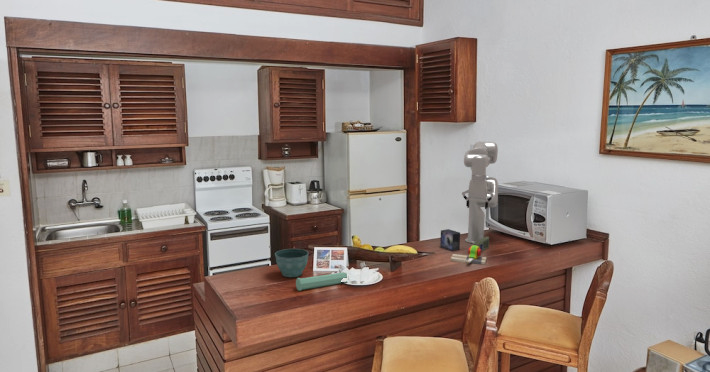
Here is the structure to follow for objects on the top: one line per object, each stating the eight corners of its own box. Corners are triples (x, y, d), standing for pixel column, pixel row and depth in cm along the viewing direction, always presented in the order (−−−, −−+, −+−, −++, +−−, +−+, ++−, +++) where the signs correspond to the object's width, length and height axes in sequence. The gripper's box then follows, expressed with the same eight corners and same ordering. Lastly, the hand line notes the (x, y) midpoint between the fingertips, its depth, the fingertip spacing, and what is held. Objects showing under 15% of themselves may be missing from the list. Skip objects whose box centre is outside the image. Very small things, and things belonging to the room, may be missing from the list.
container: (345, 268, 235) (297, 275, 222) (351, 276, 231) (302, 283, 218) (343, 277, 238) (294, 285, 225) (348, 286, 233) (299, 294, 221)
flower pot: (272, 279, 235) (272, 257, 233) (278, 269, 251) (277, 248, 249) (306, 280, 235) (306, 258, 233) (310, 269, 251) (310, 248, 249)
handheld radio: (489, 247, 297) (474, 257, 277) (484, 247, 299) (468, 256, 279) (489, 236, 297) (474, 245, 276) (484, 236, 299) (468, 244, 278)
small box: (439, 247, 297) (440, 230, 295) (447, 245, 300) (448, 228, 299) (452, 251, 288) (452, 233, 286) (460, 249, 291) (460, 232, 290)
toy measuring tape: (483, 255, 275) (484, 244, 274) (472, 264, 258) (473, 252, 257) (472, 253, 278) (472, 242, 277) (460, 262, 261) (461, 250, 260)
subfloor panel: (452, 256, 277) (452, 253, 277) (486, 259, 272) (486, 257, 271) (450, 261, 269) (450, 258, 269) (485, 264, 263) (485, 261, 263)
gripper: (494, 178, 278) (493, 208, 281) (463, 176, 284) (462, 206, 286) (494, 179, 271) (492, 210, 274) (461, 178, 277) (460, 208, 279)
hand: (476, 208), depth 280 cm, fingers open, 9 cm apart
